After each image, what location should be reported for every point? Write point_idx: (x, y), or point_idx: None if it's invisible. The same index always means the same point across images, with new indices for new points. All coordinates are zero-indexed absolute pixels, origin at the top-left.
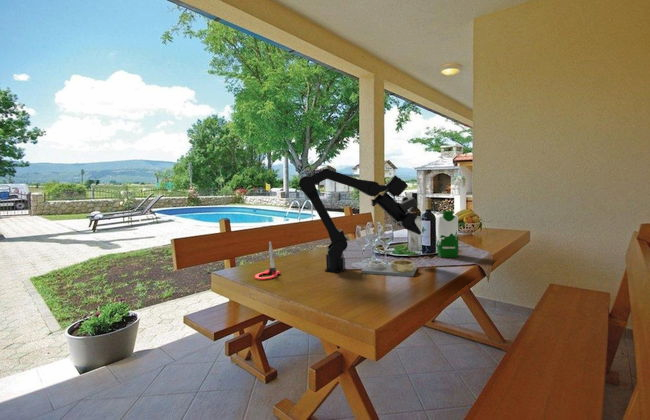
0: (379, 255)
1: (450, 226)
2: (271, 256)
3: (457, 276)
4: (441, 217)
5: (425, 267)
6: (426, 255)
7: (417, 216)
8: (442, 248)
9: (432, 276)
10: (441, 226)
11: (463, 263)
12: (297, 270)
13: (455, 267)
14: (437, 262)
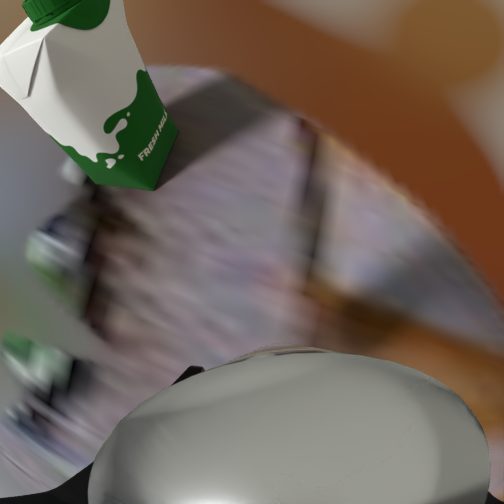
0: (47, 435)
1: (118, 43)
2: None
3: (462, 254)
4: (55, 34)
5: (318, 335)
6: (95, 237)
7: (291, 478)
8: (141, 161)
9: (455, 348)
10: (80, 81)
11: (281, 145)
12: None
13: (343, 201)
14: (235, 239)
